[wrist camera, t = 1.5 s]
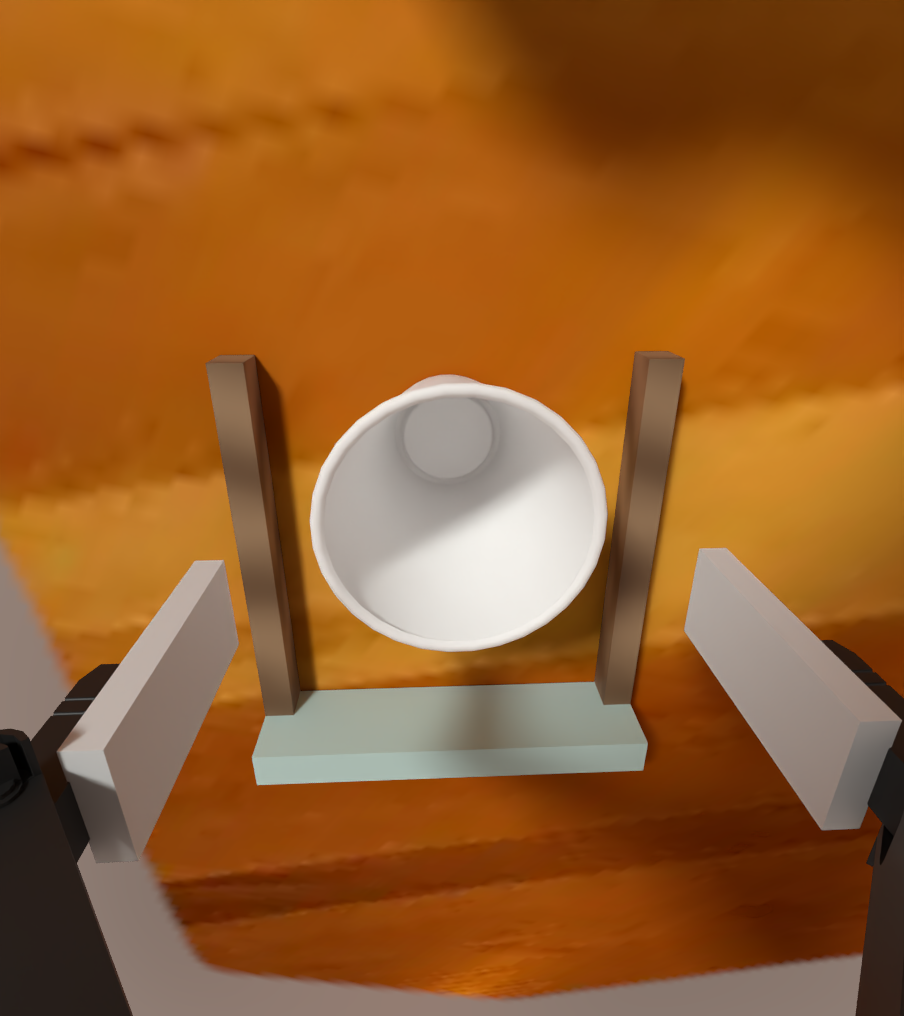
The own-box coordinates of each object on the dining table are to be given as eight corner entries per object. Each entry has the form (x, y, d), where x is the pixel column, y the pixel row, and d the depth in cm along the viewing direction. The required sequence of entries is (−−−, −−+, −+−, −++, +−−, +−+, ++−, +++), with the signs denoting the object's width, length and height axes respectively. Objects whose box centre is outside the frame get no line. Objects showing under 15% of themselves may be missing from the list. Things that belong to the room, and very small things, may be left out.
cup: (486, 551, 32) (514, 689, 22) (317, 475, 30) (264, 591, 20) (583, 391, 29) (668, 470, 19) (401, 292, 27) (388, 323, 17)
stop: (273, 692, 36) (252, 757, 31) (620, 681, 37) (647, 743, 32) (277, 717, 37) (256, 784, 32) (616, 706, 37) (643, 770, 33)
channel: (220, 355, 28) (205, 363, 26) (667, 351, 28) (684, 358, 27) (277, 717, 37) (270, 742, 35) (616, 706, 37) (626, 729, 36)
